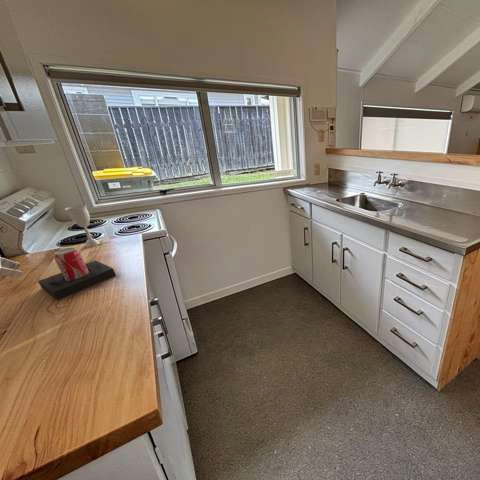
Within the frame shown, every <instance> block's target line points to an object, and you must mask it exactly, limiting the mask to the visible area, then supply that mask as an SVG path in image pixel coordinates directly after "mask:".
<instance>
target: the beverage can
mask: <svg viewBox="0 0 480 480" xmlns="http://www.w3.org/2000/svg"><path fill="white" fill-rule="evenodd" d="M54 261H55V263H56V265H57V267H58V268H59V270H60V273H62V274H63V276H64V278H65V280H66V281H68V280H74V279H77V278H80V277H83V276H85V275H87V274H88V273H89V271H88V269H87V267H86V264H87V263H86V262H85V261H84V258H83V256H82V254H81V252H80V251H79V250H78V249H76V247H67V248H66V247H65V248H62V249H61V250H57V251H55V252H54Z"/></svg>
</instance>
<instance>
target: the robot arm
mask: <svg viewBox="0 0 480 480" xmlns="http://www.w3.org/2000/svg"><path fill="white" fill-rule="evenodd" d="M20 266H21V264H20V263H19V262H17V261H13V260H10V259H8V258H6V257H2V256H0V276H2V277H14V278H20V277H21V276H22V274H23V271H22V270H21V269H19V267H20Z"/></svg>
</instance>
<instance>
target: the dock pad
mask: <svg viewBox="0 0 480 480" xmlns="http://www.w3.org/2000/svg"><path fill="white" fill-rule="evenodd" d="M85 264H86V267H87V269H88V271H89V273H88V274H87V275H85V276H83V277H80V278H77V279H74V280H68V281H66V280H65V278H64V276H63V274H62V272H59V273H56V274H54V275H50V276H48V277H45V278H42V279H40V280H38V281H37V283H38V284H39V286H40V288H41V289H42V290H43V291H44V292H46V293H47V294H48V295H50V296H51V297H52V298H54V299H55V300H57V301H60V300H62V299H65V298H67V297H69V296H71V295H74V294H76V293H79V292H81V291H84V290H85V289H88V288H91V287H93V286H95V285H97V284H100V283H102V282H104V281H106V280H109V279H111V278H113V277H116V276H117V274H116V272H115V270H114V268H113V267H111V266H108V265H107V264H105V263H102V262H100V261H98V260H92V261H90V262H87V263H85Z"/></svg>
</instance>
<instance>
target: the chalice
mask: <svg viewBox="0 0 480 480" xmlns="http://www.w3.org/2000/svg"><path fill="white" fill-rule="evenodd" d="M87 207H88V206H87V204H78V205H73V206H68V207H66V208H65V210H66V211H67V213H68V215H69V217H70V219H71V220H72V222H74V224H76V225H77V226H78V227H80V228H83V229H84V232H85V233H86V234H85V236H86V237H87V240H86V241H85V247H86V248H88V247H94V246H97V245H100V241H98V239H96V238H93V237H92V234H91V233H90V229H88V227H89V226H90V220H91V215H90V213H89V210H88V209H87ZM93 244H94V245H93Z"/></svg>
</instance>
